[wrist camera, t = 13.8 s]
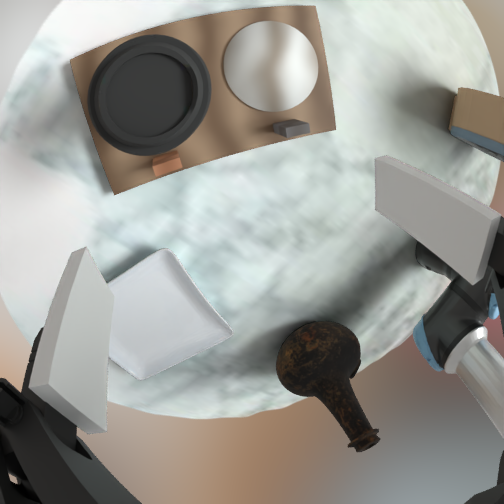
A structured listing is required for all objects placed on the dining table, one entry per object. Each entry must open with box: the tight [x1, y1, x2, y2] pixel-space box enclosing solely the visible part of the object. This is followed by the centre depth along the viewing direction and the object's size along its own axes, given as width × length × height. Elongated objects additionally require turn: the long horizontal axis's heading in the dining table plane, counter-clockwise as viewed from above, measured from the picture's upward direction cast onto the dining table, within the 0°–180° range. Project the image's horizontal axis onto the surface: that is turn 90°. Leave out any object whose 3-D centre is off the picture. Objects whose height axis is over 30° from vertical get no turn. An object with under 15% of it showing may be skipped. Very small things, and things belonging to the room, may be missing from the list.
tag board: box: [70, 6, 336, 195], centre depth 28 cm, size 30×18×6 cm, turn 102°
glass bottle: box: [276, 321, 380, 452], centre depth 49 cm, size 18×18×28 cm
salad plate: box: [107, 248, 234, 380], centre depth 44 cm, size 21×21×3 cm
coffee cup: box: [87, 34, 212, 156], centre depth 21 cm, size 9×9×15 cm
